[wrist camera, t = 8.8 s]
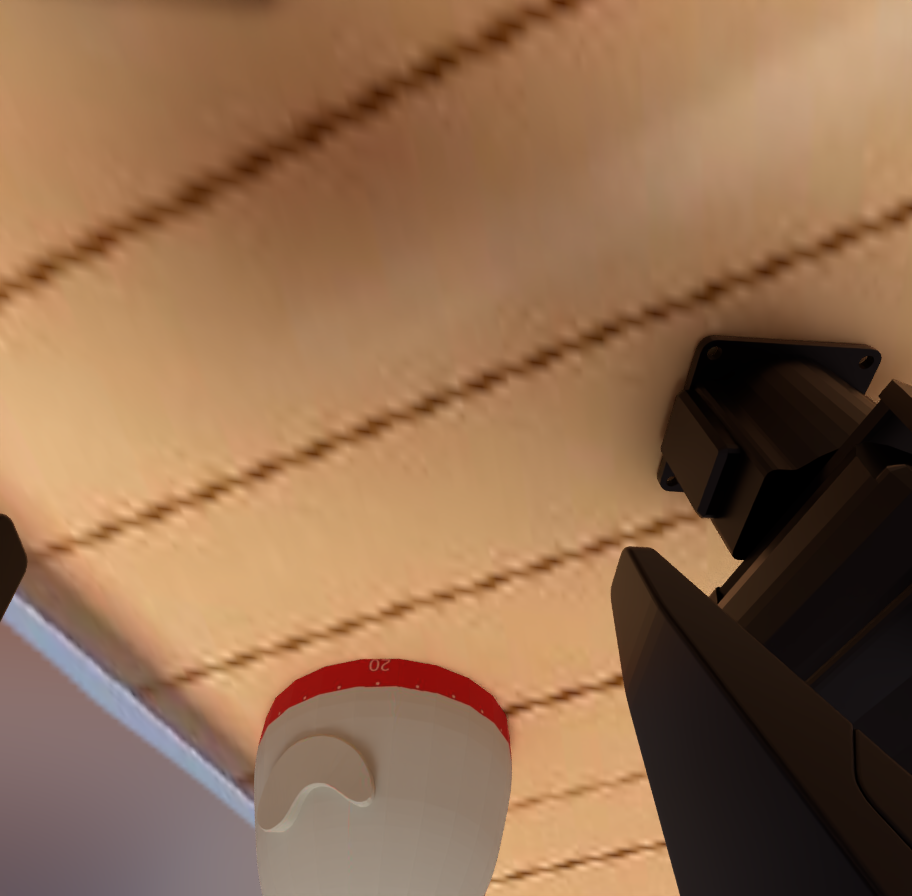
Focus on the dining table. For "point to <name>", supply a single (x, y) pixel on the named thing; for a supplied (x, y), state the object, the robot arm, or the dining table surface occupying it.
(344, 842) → the kitchen timer
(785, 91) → the dining table surface
